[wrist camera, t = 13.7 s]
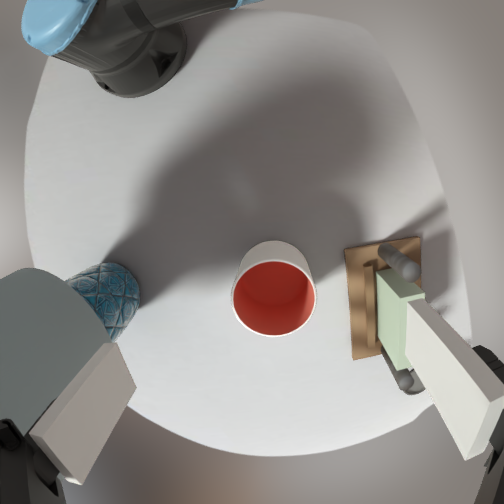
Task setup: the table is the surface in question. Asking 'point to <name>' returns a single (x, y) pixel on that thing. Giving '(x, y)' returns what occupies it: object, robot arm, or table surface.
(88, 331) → the lamp
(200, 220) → the table surface
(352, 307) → the hinge board
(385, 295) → the door
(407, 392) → the pocket watch
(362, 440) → the table surface
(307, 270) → the cup
